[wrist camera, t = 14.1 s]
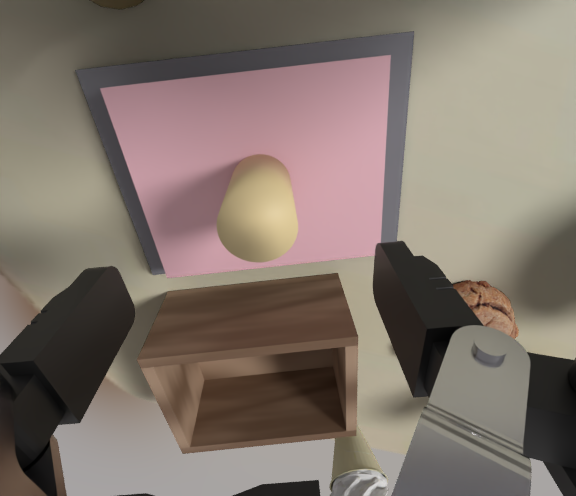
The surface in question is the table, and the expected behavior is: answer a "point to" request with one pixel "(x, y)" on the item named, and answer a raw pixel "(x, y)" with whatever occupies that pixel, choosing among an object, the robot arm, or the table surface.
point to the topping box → (254, 363)
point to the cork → (117, 3)
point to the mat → (250, 61)
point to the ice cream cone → (356, 469)
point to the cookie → (489, 306)
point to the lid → (258, 163)
